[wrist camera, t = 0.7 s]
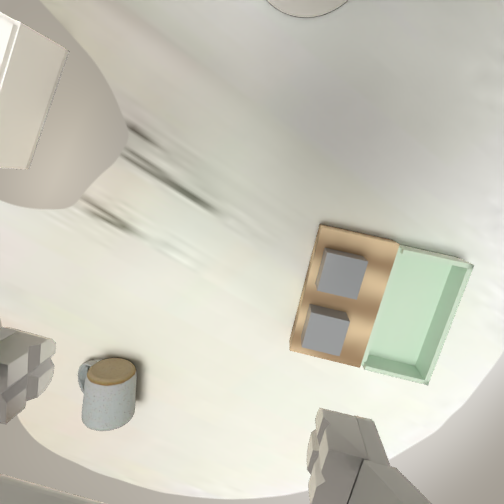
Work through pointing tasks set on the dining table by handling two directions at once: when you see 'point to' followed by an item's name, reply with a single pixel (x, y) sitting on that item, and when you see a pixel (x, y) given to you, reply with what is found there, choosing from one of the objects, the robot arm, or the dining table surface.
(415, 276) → the tray
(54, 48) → the butter dish
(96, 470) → the dining table surface
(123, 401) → the ceramic mug
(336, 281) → the tile
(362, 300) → the board
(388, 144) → the dining table surface
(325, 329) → the tile
